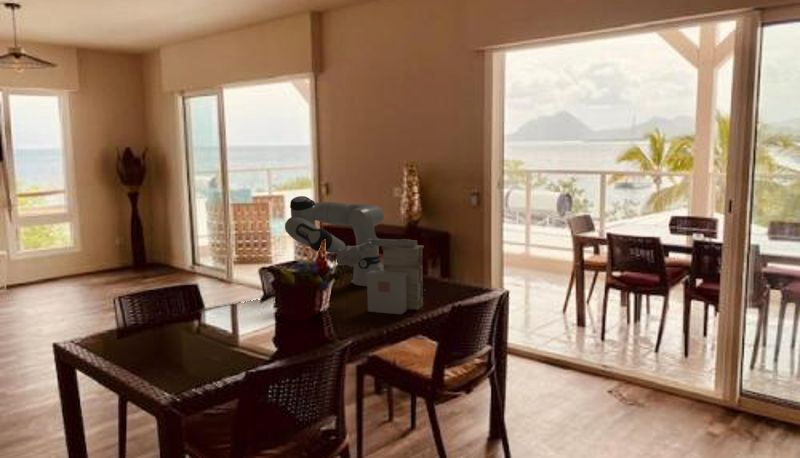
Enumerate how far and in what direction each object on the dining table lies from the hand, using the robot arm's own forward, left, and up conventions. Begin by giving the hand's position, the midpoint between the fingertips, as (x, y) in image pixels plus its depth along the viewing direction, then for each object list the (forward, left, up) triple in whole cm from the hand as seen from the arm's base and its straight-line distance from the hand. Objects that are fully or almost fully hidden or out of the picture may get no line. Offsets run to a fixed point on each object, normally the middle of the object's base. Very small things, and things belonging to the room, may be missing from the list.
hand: (375, 241), depth 259 cm
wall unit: (0, +13, -28) cm, 30 cm away
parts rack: (+9, +9, -28) cm, 30 cm away
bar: (0, +8, -2) cm, 8 cm away
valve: (-13, +12, -28) cm, 33 cm away
